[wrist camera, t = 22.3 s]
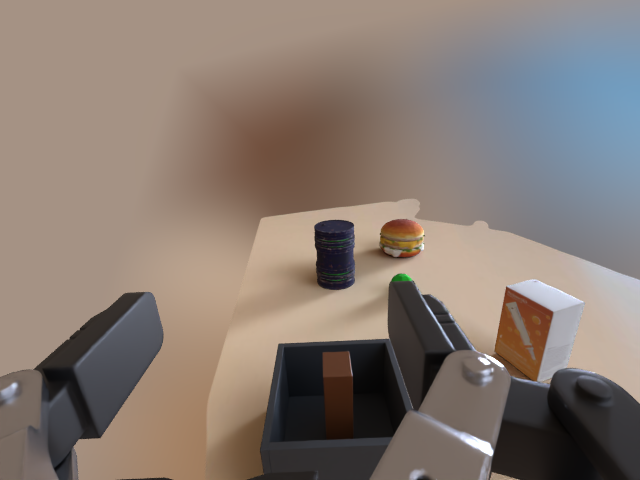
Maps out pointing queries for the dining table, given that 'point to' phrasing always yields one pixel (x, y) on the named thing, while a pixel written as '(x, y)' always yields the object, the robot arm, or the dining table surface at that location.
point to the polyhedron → (401, 278)
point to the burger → (402, 238)
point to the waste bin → (309, 410)
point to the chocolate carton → (338, 395)
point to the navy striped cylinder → (335, 254)
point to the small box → (537, 328)
